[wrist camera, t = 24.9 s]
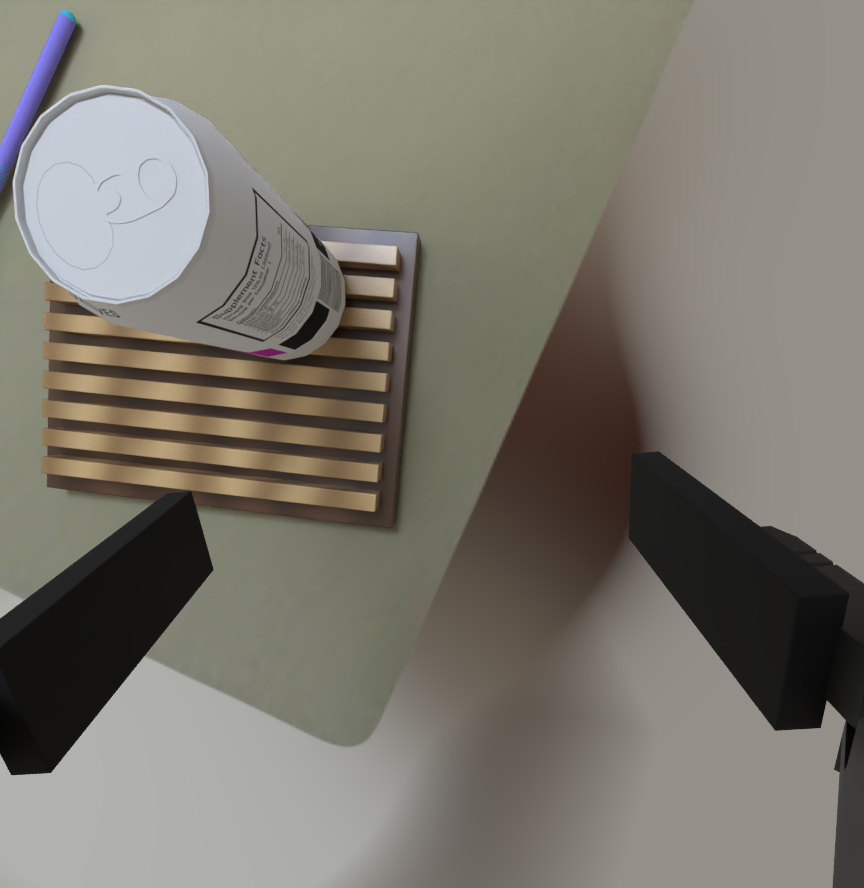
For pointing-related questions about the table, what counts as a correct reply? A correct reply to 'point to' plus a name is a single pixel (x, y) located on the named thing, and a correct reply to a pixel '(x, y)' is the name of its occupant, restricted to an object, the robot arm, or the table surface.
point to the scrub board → (242, 402)
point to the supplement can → (170, 227)
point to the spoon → (35, 91)
